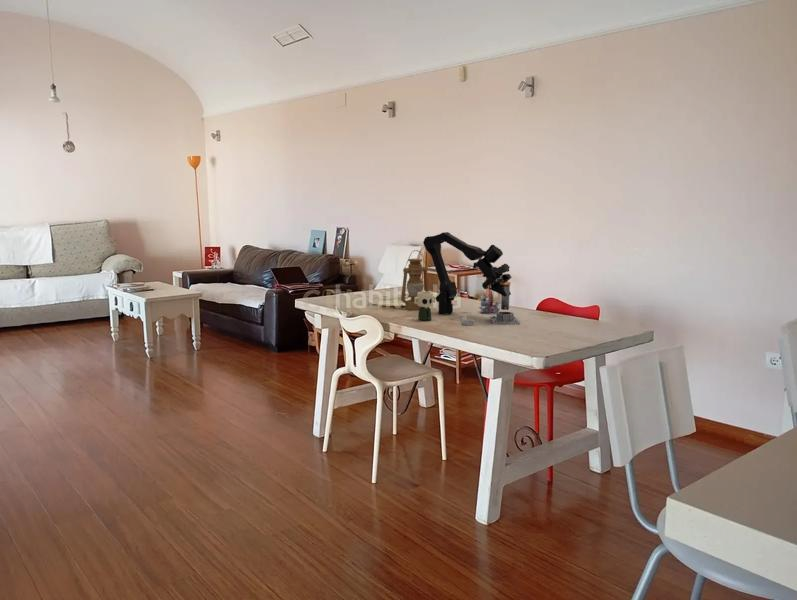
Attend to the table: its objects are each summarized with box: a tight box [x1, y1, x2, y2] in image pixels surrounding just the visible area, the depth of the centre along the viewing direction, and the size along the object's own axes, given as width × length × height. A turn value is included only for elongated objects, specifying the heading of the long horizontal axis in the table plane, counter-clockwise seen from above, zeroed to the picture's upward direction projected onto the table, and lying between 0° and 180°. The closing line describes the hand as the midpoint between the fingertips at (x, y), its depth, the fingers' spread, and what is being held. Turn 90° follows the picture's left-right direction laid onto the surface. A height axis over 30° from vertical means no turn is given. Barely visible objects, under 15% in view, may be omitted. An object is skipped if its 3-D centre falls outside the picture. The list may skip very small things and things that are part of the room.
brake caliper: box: [478, 290, 501, 315], centre depth 321 cm, size 11×11×12 cm
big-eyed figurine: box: [414, 291, 436, 321], centre depth 300 cm, size 11×7×13 cm, turn 114°
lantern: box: [400, 250, 430, 311], centre depth 328 cm, size 15×10×30 cm
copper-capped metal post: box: [500, 281, 511, 311], centre depth 296 cm, size 4×4×12 cm
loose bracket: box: [461, 316, 475, 326], centre depth 292 cm, size 5×8×2 cm, turn 178°
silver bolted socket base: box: [490, 311, 521, 325], centre depth 298 cm, size 12×12×4 cm
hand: (508, 295), depth 295 cm, fingers closed on copper-capped metal post, 4 cm apart
